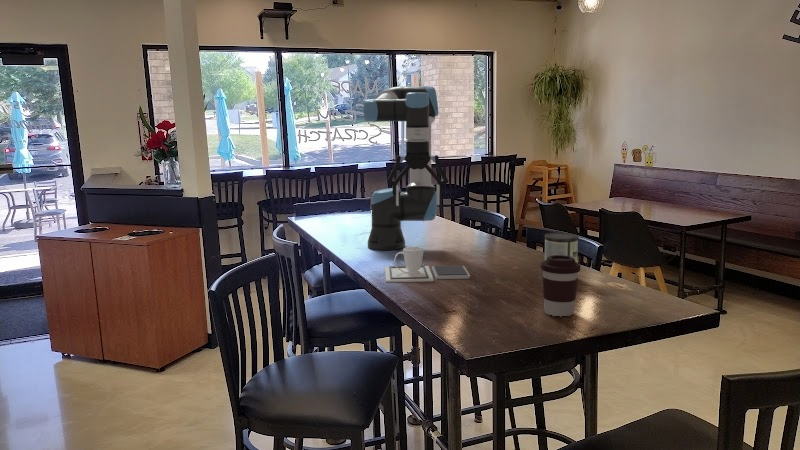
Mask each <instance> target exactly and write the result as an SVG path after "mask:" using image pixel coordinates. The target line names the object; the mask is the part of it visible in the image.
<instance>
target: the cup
mask: <svg viewBox="0 0 800 450" xmlns="http://www.w3.org/2000/svg"><path fill="white" fill-rule="evenodd" d="M424 251H425V249H424V247H421V246H405V247H404V248H402V251H399V252H396V254H395V256H394V260H393V264H394V266H396V267H397V264H396V259H397V257H398V255H399V254H401V255H403V258H404V264H405V265H404V266H406V268H407V270H408V271H407V272H405V271H403V270H401V269H400V268H398V267H397V268H398V269H399V270H400V271H402V272H404V273H409V274H418V273H420V271H419V270H420V268H421V266H422V264H423V256H424Z"/></svg>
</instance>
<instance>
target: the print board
mask: <svg viewBox="0 0 800 450" xmlns="http://www.w3.org/2000/svg"><path fill="white" fill-rule="evenodd" d="M396 266H397V265H396ZM396 266H395V265H393V266H384V273H385V282H386V283H415V282H416V283H417V282H419V283H420V282H424V283H425V282H434V278H433V277H434V276H433V274H432V271H431V269H430V266H429V265H421V268H420V270H419V271H420V273H418V274H409V273H404V272H402V271H400V270H399V269H398V268H400V269H401V270H403V271H405V272H407V271H408V270H407V268H406V265H404V266H403V265H398V266H397V267H398V268H397V267H396Z"/></svg>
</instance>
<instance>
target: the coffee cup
mask: <svg viewBox="0 0 800 450" xmlns="http://www.w3.org/2000/svg"><path fill="white" fill-rule="evenodd" d="M540 269H541V270H542V271H543V272H542V297H543V304H544V313H545V314H546V315H548V316H550V315H552V316H551V317H555V316H560V317H559V318H563V317H562V316H568V317H570V316H569V315H571V316H572V315H573V314H574V310H575V309H574V308H575V300H576V298H577V290H578V283H579V282H578V281H579V279H578V273H580V272H581V264H580V263H579V262H578V261H577V262H575V259H574V258H573V257H570V256H565V255H552V256H549V257H547V259H546V261H544V260H543V261H541V263H540Z"/></svg>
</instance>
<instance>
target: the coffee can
mask: <svg viewBox="0 0 800 450" xmlns="http://www.w3.org/2000/svg"><path fill="white" fill-rule="evenodd" d="M578 242H579V235H577V234H574V233H570V232H550V233H549V232H548V233H545V235H544V260H543V261H546V259H547V257H549V256H552V255H565V256H570V257H573V258H574V259H575V262H577V263H578V251H579V250H578V248H579V246H578V245H579V243H578Z"/></svg>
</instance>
